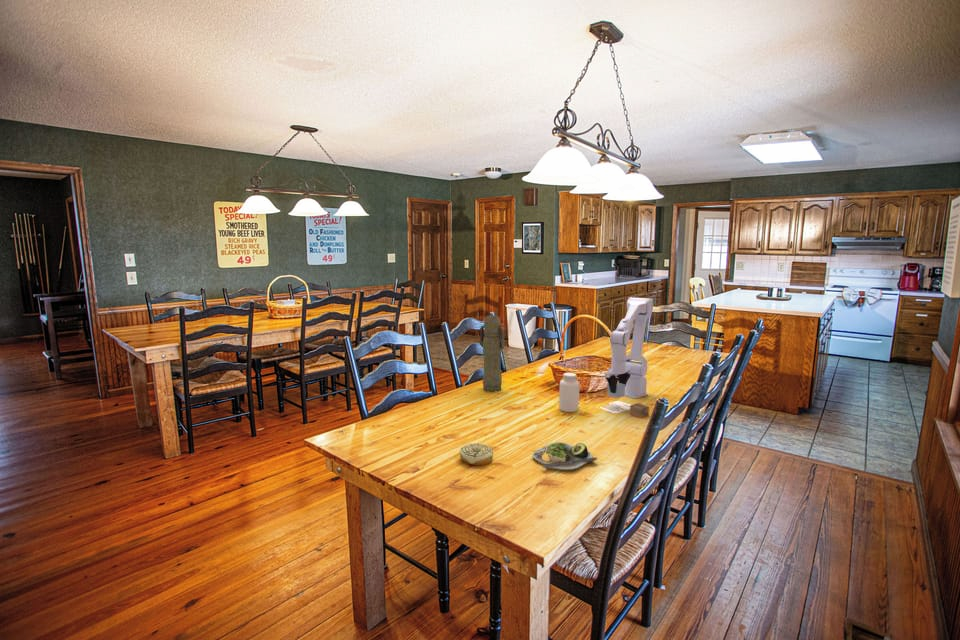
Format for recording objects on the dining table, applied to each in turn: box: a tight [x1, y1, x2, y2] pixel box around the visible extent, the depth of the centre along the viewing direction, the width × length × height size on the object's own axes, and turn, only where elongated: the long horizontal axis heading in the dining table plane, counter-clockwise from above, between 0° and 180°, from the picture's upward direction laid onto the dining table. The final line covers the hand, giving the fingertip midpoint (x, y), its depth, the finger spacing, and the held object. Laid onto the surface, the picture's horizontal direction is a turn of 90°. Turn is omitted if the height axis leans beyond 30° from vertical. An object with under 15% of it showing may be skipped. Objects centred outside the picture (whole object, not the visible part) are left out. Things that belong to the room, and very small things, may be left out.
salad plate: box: [532, 441, 598, 471], centre depth 148 cm, size 19×18×5 cm
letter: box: [596, 400, 631, 415], centre depth 196 cm, size 14×10×1 cm
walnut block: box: [629, 402, 650, 419], centre depth 187 cm, size 5×5×4 cm
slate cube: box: [606, 381, 626, 399], centre depth 196 cm, size 5×5×5 cm
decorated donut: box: [459, 443, 494, 466], centre depth 149 cm, size 10×11×4 cm
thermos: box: [479, 314, 505, 393], centre depth 219 cm, size 9×12×35 cm
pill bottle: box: [558, 372, 580, 413], centre depth 193 cm, size 8×8×15 cm
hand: (617, 391), depth 195 cm, fingers closed on slate cube, 5 cm apart
